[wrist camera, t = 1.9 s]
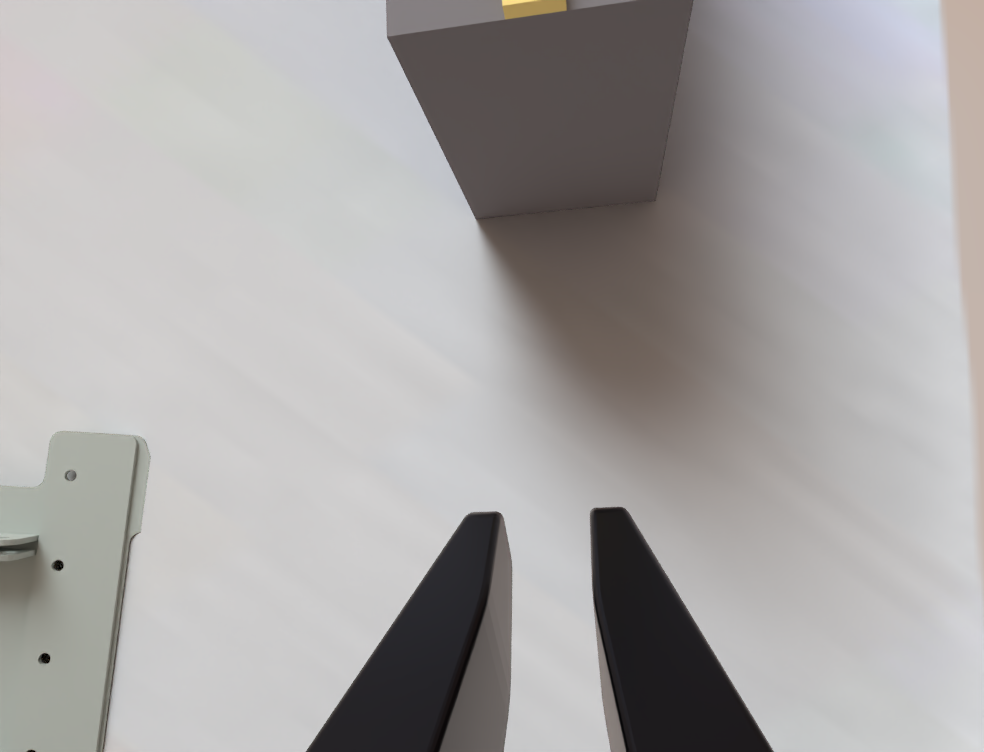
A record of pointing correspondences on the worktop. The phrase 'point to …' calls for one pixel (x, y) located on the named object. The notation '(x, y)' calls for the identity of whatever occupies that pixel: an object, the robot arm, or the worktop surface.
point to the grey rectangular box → (545, 95)
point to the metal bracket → (66, 590)
